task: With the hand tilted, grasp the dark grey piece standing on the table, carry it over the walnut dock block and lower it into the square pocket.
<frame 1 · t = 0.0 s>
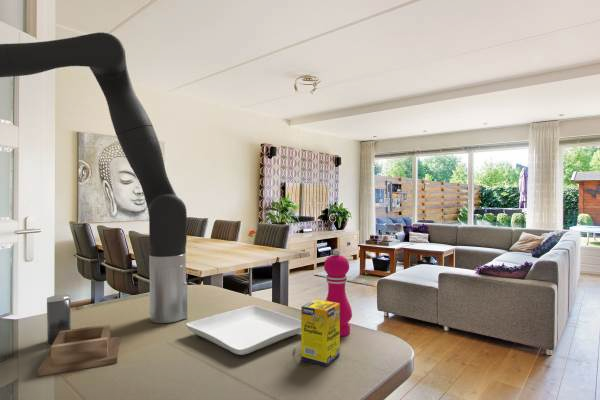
pepper mill: (336, 332, 89), on the kitchen counter
supplement box: (320, 359, 75), on the kitchen counter
salad plate: (247, 337, 87), on the kitchen counter
dock: (83, 356, 76), on the kitchen counter
dark grey piece: (59, 340, 85), on the kitchen counter
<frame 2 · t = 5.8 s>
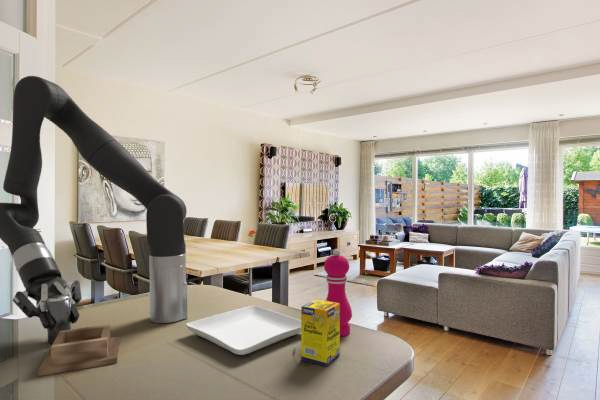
hand: (63, 324, 84), 4 cm above the kitchen counter, tool tilted 45°, fingers closed on dark grey piece, 4 cm apart
dark grey piece: (59, 340, 85), on the kitchen counter, touching gripper
everything else where it was.
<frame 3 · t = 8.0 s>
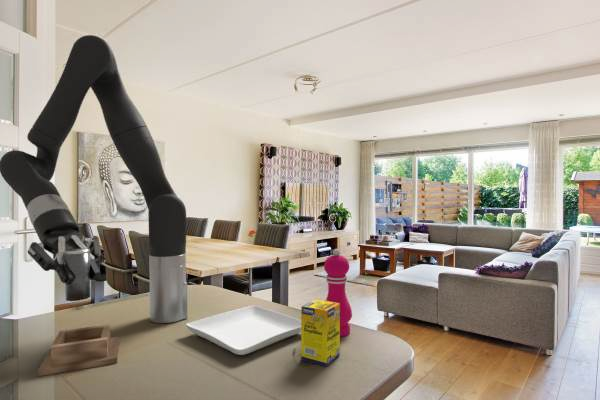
hand: (83, 279, 76), 16 cm above the kitchen counter, tool tilted 45°, fingers closed on dark grey piece, 4 cm apart
dark grey piece: (78, 297, 77), point 12 cm above the kitchen counter, touching gripper
everything else where it was.
when the fingers open (6 cm above the kitchen counter, at t = 10.4 s): dark grey piece drops 1 cm, resting on dock.
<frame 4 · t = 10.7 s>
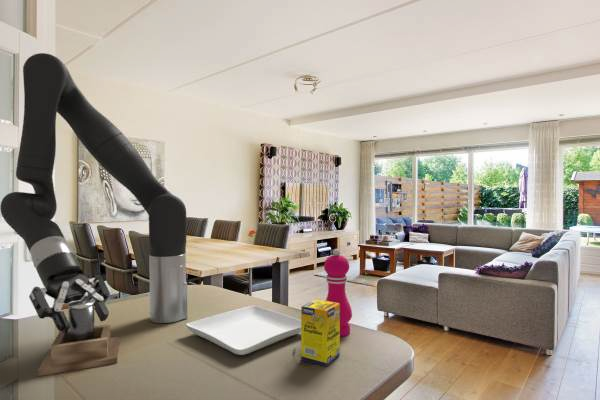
hand: (86, 324, 75), 7 cm above the kitchen counter, tool tilted 45°, fingers open, 7 cm apart
dark grey piece: (82, 351, 76), point 1 cm above the kitchen counter, touching dock
everything else where it was.
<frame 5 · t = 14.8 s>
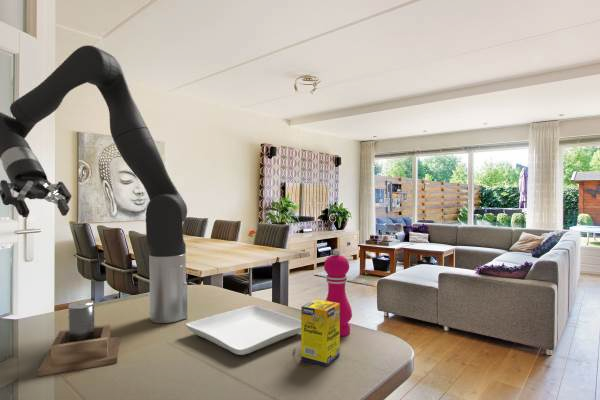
hand: (47, 214, 89), 29 cm above the kitchen counter, tool tilted 45°, fingers open, 8 cm apart
nothing on the kitchen counter moved.
at the end: dark grey piece 0.1 cm off-centre on the dock, point 1.0 cm above the dock's base; dark grey piece tilted 0°; the gripper is holding nothing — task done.
